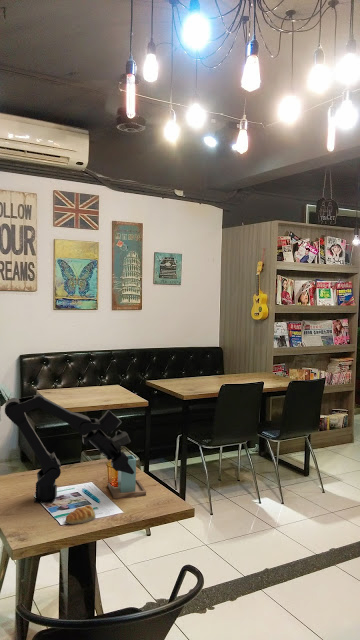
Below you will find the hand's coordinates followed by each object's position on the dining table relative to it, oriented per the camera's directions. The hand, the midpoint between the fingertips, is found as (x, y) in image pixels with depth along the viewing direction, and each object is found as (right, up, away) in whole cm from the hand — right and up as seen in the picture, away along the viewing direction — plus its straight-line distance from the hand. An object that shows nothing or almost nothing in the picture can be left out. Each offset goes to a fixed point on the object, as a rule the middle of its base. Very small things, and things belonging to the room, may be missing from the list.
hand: (130, 469), depth 183 cm
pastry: (-14, -9, -24) cm, 29 cm away
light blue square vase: (-1, -8, 0) cm, 8 cm away
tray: (-2, -8, 0) cm, 8 cm away
